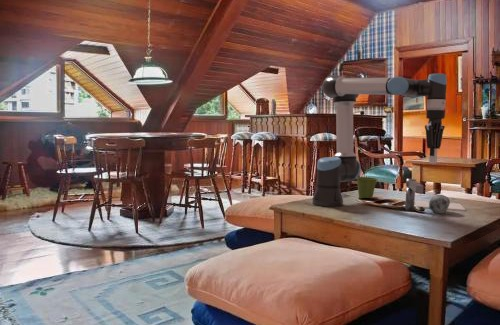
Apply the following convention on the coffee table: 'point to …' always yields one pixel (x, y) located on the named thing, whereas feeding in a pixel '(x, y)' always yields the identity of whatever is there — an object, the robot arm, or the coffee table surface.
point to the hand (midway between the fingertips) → (432, 163)
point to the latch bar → (414, 185)
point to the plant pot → (366, 186)
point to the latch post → (409, 199)
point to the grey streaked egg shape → (439, 204)
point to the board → (451, 207)
